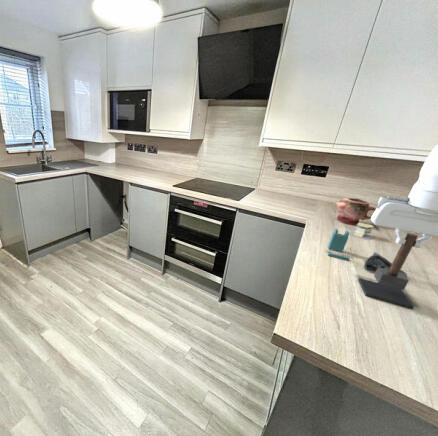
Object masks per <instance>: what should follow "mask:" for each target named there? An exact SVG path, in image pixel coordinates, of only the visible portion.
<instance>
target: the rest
mask: <svg viewBox="0 0 438 436" xmlns="http://www.w3.org/2000/svg"><path fill="white" fill-rule="evenodd" d="M349 232H350V231H348V230H345V231H344V234H341V233H339V229H338V228H334V230H333V232H332V233H331V237H330V240H329V242H328V245H327V249H328V250H330V251H334V252H338V253H343V252H344V249H345V247H346V245H347V242H348V239H349V236H350V234H349ZM327 256H328V257H332V258H335V259H341V260H344V261H350V257H348V256H344V255H340V254H335V253H331V252H328V254H327Z"/></svg>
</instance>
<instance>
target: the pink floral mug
mask: <svg viewBox="0 0 438 436" xmlns="http://www.w3.org/2000/svg"><path fill="white" fill-rule="evenodd" d="M334 208H335V209H336V210H337V213H338V215H337V218H336V220H337V221H338V222H340V223H342V224H346V225H350V226H355V225H356V226H357V224H358V223H360V222H359V221H360V220H361V221H365V220H371V217H372V215H371V216H368V212H370V211H373V212H374V211H375V210H376V208H377V206H373V205H369V202H368V201H366V200H363V199H361V198H354V197H344V198H341V199H340V200H339V201H338V202H336V203H334Z"/></svg>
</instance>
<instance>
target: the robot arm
mask: <svg viewBox="0 0 438 436" xmlns="http://www.w3.org/2000/svg"><path fill="white" fill-rule="evenodd" d="M371 216H372V217H371ZM371 216H370V217H371V219H370V221H371V223H372V224H373V225H375V226H379V227H383V228H389V229H395V230H394V231H395V234H396V236H397V238H396V239H395V243H396V244H398V245H402V244H403V245H404V244H405V242H406V239H405V237H403V234H405V233H406V231H407V232H410V233H417V234H421V236H422V237H419V238H418V239H416V241H415V243H414V245H413V247H412V248H418V249H421V248H422V247H423V245H424V244H426V243H428V242H429V241H431V240H433V238H434V237H438V144H437V145H435V147H434V148H433V149H432V150H431V151H430V153H429V154H428V155H427V157H426V158H425V161H424V163H423V165H422V166H421V169H420V170H419V177H418V180H417V181H416V182H415V183H414V184H413V185H412V188H411V190H410V192H409V194H408V195H407V197H404V196H396V195H395V196H394V195H387V196H386V195H385V196H382V197H380V198H379V199H378V201H377V204H376V210H375V211H373V213H372V215H371Z"/></svg>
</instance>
